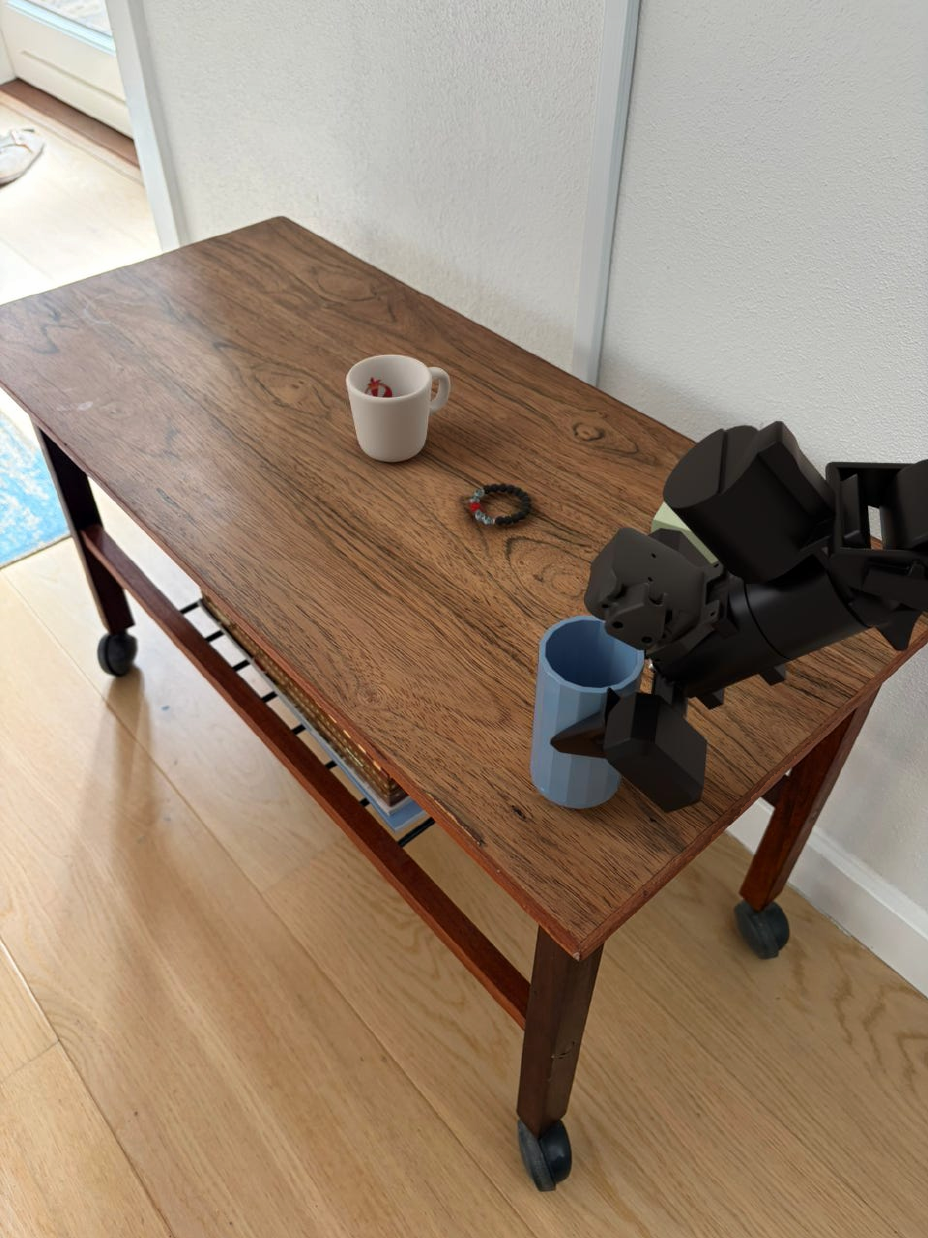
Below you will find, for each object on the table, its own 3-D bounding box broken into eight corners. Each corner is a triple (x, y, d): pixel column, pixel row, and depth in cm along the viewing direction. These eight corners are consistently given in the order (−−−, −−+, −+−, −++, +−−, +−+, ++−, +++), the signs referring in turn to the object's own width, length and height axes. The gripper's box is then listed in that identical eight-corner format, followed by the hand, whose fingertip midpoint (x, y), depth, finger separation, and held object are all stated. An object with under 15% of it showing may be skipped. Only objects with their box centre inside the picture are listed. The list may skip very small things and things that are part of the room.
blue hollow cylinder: (635, 754, 72) (659, 636, 63) (601, 823, 68) (621, 707, 59) (552, 721, 74) (564, 603, 65) (514, 786, 70) (522, 669, 61)
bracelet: (463, 493, 95) (463, 484, 94) (522, 485, 96) (523, 477, 95) (476, 532, 91) (477, 523, 90) (538, 523, 92) (539, 515, 91)
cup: (424, 405, 105) (423, 335, 100) (472, 441, 101) (473, 370, 95) (336, 442, 101) (329, 371, 95) (381, 481, 96) (377, 409, 90)
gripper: (698, 419, 60) (507, 534, 70) (671, 643, 47) (442, 746, 57) (803, 540, 64) (610, 633, 74) (804, 776, 52) (571, 851, 61)
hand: (562, 705), depth 66 cm, fingers closed on blue hollow cylinder, 6 cm apart
